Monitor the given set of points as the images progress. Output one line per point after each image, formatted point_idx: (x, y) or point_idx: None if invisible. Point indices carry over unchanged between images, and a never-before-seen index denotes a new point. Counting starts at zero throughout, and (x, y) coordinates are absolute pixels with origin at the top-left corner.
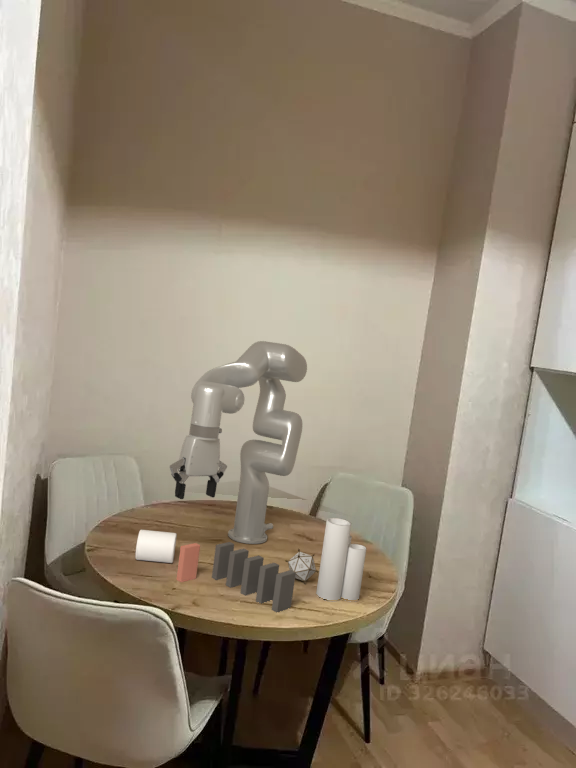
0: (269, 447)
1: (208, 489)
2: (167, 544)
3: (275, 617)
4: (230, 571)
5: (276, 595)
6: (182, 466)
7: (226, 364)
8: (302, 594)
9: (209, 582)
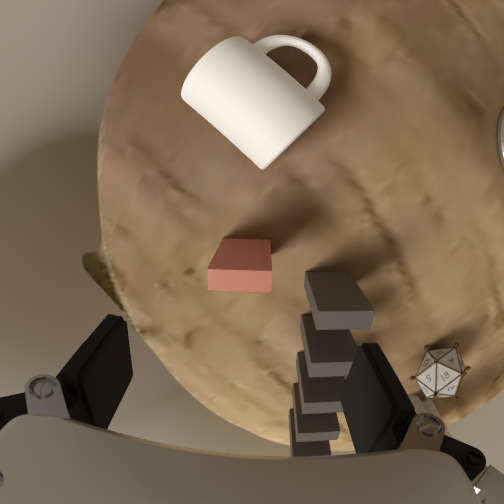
0: None
1: (364, 385)
2: (250, 151)
3: (273, 422)
4: (304, 342)
5: (290, 432)
6: (42, 465)
7: None
8: None
9: (281, 287)
